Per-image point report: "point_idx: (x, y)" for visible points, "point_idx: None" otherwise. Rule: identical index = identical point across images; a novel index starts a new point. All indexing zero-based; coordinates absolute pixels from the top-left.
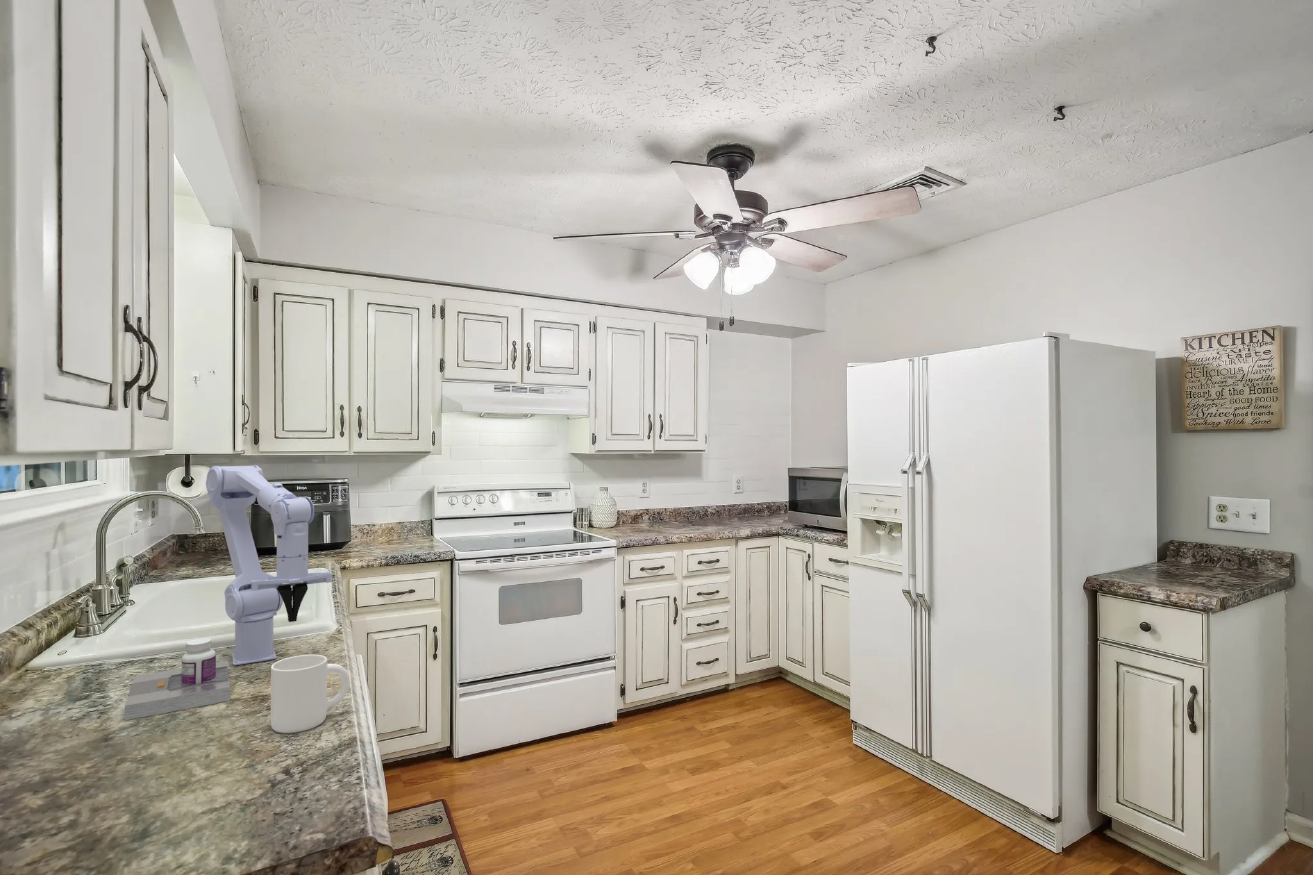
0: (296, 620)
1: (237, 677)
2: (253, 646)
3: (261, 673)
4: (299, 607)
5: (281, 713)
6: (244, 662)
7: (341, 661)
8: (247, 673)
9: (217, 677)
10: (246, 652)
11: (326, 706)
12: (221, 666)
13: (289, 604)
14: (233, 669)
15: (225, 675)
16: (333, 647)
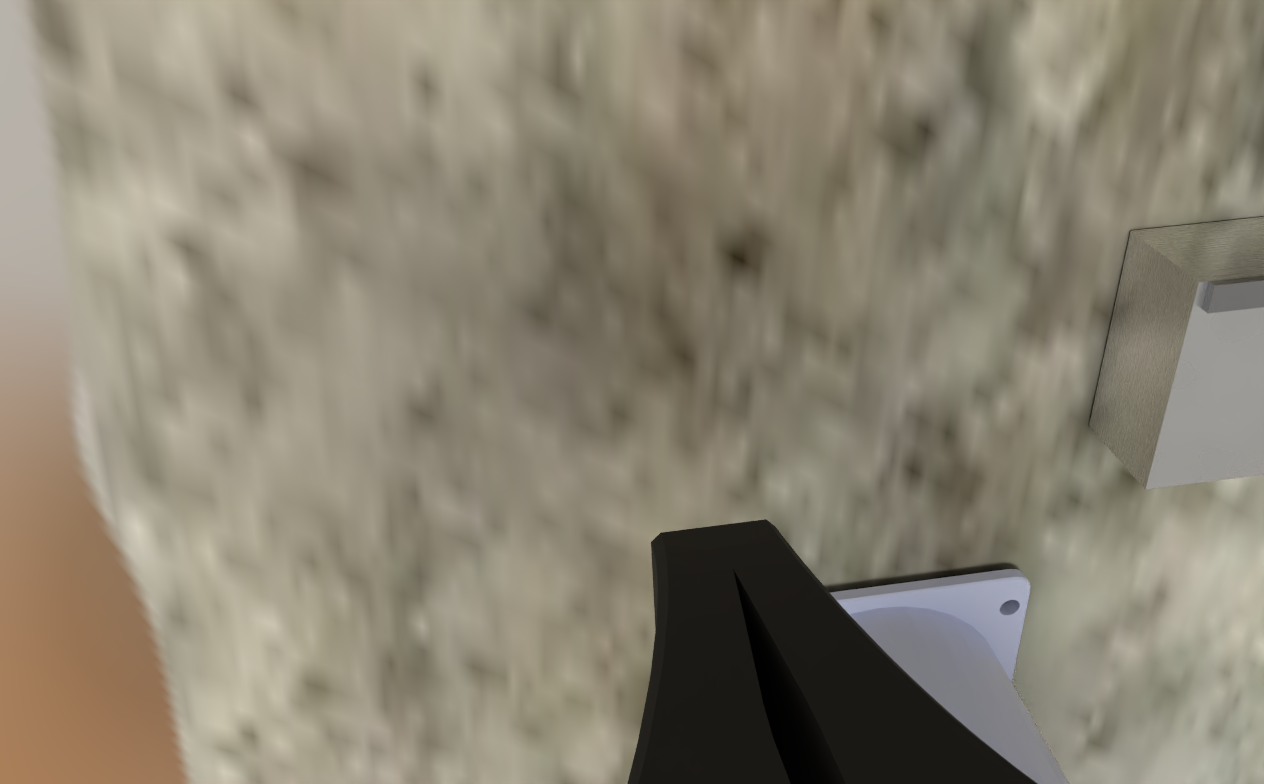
0: (655, 540)
1: (1053, 272)
2: (933, 697)
3: (865, 289)
4: (644, 715)
5: None
6: (954, 583)
7: (124, 310)
8: (964, 346)
9: (1235, 240)
10: (965, 662)
11: None
12: (1233, 348)
13: (896, 749)
14: (1033, 498)
15: (1179, 247)
16: (263, 733)
